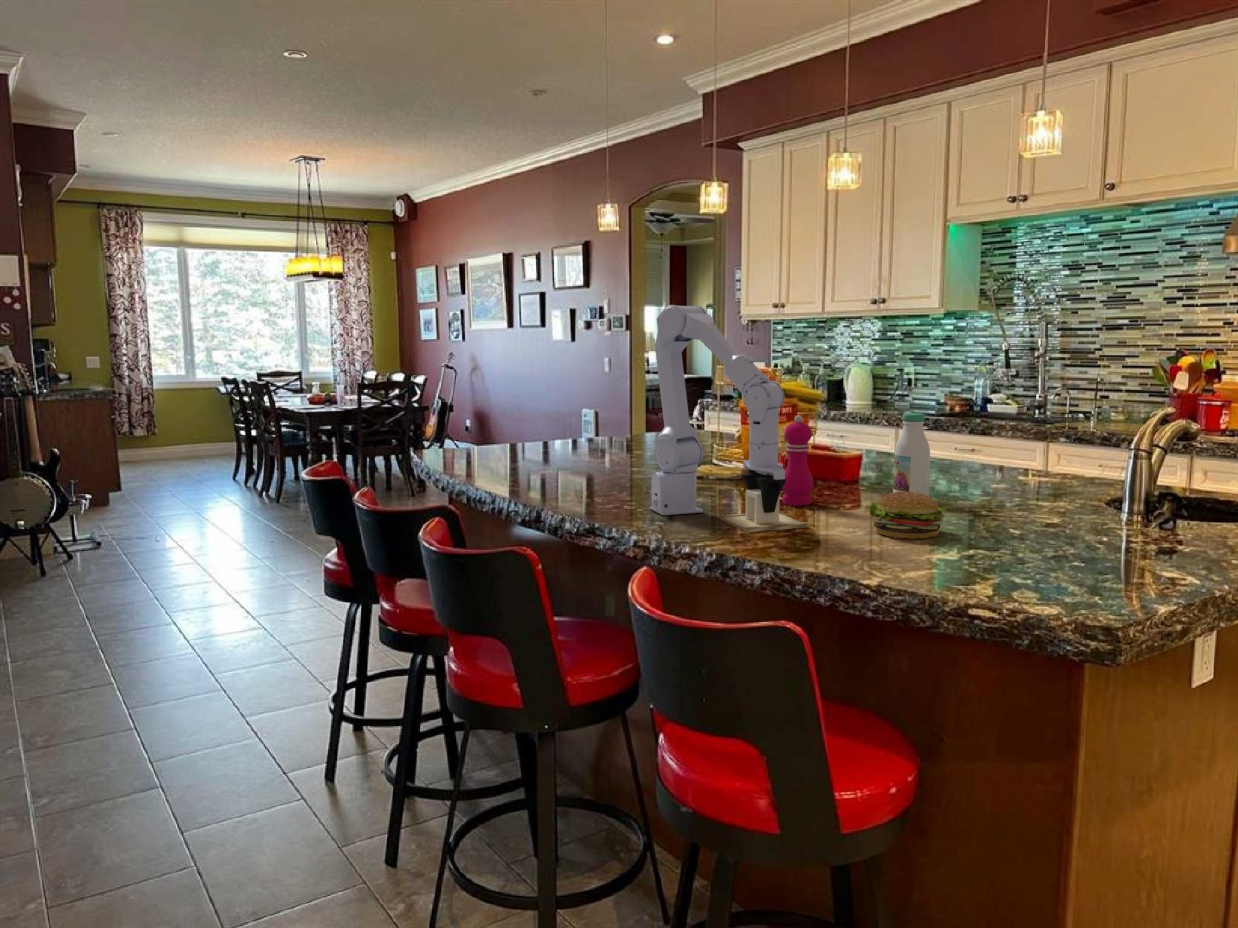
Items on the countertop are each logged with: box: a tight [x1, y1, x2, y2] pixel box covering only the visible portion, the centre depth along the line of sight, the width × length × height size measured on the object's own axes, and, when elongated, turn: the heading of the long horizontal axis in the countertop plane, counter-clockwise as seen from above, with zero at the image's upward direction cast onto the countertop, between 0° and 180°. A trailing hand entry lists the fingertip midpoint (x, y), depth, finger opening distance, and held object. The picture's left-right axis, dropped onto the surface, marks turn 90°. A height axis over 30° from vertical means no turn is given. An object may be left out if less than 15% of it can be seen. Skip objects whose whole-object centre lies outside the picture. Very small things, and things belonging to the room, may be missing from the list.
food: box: [869, 491, 947, 540], centre depth 169 cm, size 14×14×8 cm
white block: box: [744, 489, 780, 524], centre depth 179 cm, size 5×5×6 cm
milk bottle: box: [892, 412, 931, 496], centre depth 200 cm, size 8×8×20 cm
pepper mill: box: [782, 415, 814, 507], centre depth 199 cm, size 7×7×20 cm
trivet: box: [719, 512, 808, 533], centre depth 179 cm, size 13×13×1 cm
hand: (762, 509), depth 179 cm, fingers closed on white block, 5 cm apart
